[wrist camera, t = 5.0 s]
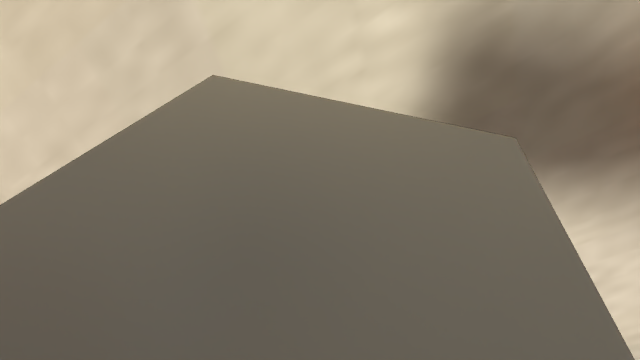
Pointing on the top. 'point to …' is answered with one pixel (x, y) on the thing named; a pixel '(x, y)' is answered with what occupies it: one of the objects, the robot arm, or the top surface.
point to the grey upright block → (294, 242)
